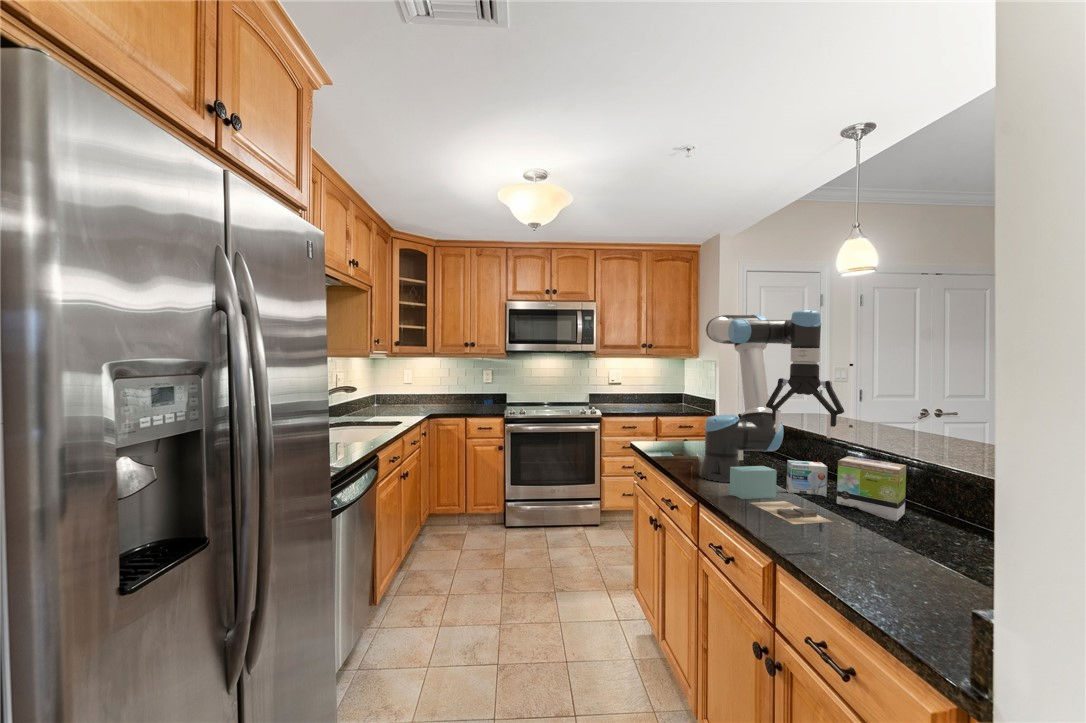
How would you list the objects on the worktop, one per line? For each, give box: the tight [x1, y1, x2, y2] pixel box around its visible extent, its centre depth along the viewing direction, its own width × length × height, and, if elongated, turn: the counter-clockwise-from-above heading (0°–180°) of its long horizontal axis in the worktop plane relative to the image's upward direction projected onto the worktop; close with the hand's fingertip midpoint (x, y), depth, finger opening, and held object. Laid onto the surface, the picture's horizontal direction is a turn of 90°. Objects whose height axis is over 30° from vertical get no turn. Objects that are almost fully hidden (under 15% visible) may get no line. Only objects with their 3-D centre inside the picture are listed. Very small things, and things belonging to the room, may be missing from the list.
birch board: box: [750, 500, 834, 525], centre depth 129 cm, size 18×12×2 cm, turn 11°
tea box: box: [836, 455, 907, 522], centre depth 135 cm, size 15×10×15 cm
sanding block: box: [729, 465, 778, 500], centre depth 145 cm, size 6×12×10 cm, turn 101°
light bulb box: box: [785, 459, 828, 498], centre depth 151 cm, size 11×7×11 cm, turn 74°
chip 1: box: [777, 509, 801, 519], centre depth 126 cm, size 4×4×1 cm
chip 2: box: [793, 507, 818, 518], centre depth 127 cm, size 4×4×1 cm
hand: (802, 434), depth 137 cm, fingers open, 13 cm apart
